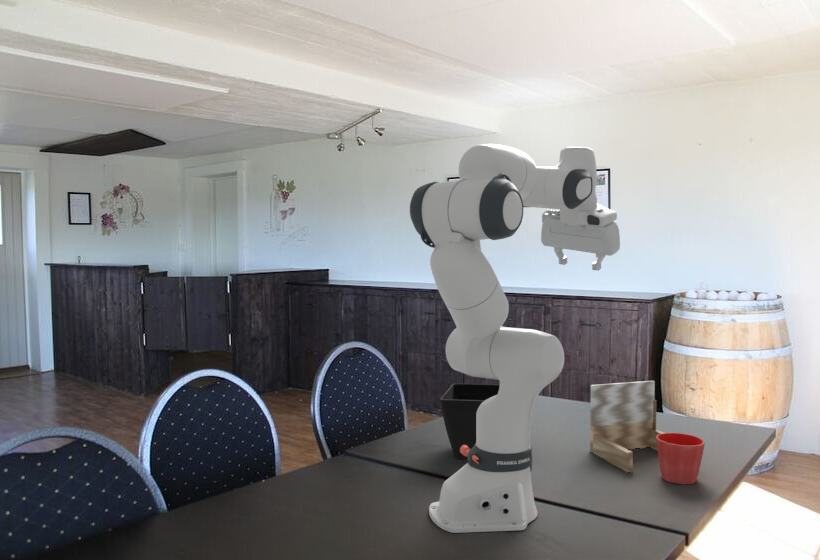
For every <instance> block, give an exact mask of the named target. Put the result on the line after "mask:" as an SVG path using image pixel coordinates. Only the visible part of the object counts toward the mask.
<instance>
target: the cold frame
mask: <svg viewBox="0 0 820 560" xmlns="http://www.w3.org/2000/svg"><path fill="white" fill-rule="evenodd" d="M655 384H656V381H655V380H644V381H629V382H628V381H627V382H615V383H602V384H590V422H589V423H590V426H589V427H590V429H589V431H590V433H589V439H590V441H589V447H590V448H589V452H590V451H592V452H593V453H592V452H591V453H592V454H594V453H595V454H596V455H595V454H594V455H595V456H597V455H598V456H597V457H599V456H600V457H599V458H601V457H602V458H604V459H605V460H604V459H603V460H604V461H606V460H607V461H606V462H608V463H609V462H610V463H609V464H611V463H612V464H611V465H613V466H614V465H615V467H616V466H617V467H616V468H618V467H619V468H618V469H620V468H621V469H622V471H623V470H624V471H623V472H625V471H626V472H625V473H627V472H631V473H634V471H633V468H634V466H633V464H634V463H633V462H634V461H633V460H634V452H633V451H632V450H636V449H635V448H640V449H647V448H646V447H650V449H653V450H655V451H657V452H658V449H657V442H656V436H657V435H659V434H663V433H665V432H663V431H662V430H659V429H657V402H658V401H657V400H656V399H655V390H656V389H655V388H656V387H655V386H656V385H655ZM628 449H630V450H628ZM602 458H601V459H602ZM621 469H620V470H621Z"/></svg>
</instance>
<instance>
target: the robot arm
mask: <svg viewBox="0 0 820 560" xmlns="http://www.w3.org/2000/svg"><path fill="white" fill-rule="evenodd" d="M596 161H597V160H596V155H595V152H594V150H593V149H592V148H590V147H588V146H565V147H563V148H561V150H560V153H559V162H558V164H557V165H556V166H541V165H540V166H537V165H536V163H535V161H534V160H533V159H532V158H531V157H530V155H529V154H527V153H526V152H524V151H523V150H520V149H517V148H514V147H512V146H508V145H503V144H497V143H496V144H495V143H483V144H482V143H480V144H476V145H473V146H471V147H470V148H469V149H467V150H466V151H465V152H464V154H463V155H462V157H461V159H460V161H459V165H458V176H459V179H455V180H447V181H441V182H440V181H432V182H429V183H426V184H423V185H421V186H419V187H418V188H416V190H414V192H413V194H412V197H411V199H410V202H409V216H410V220H411V222H412V224H413V227H414V229H415V231H416V233H418V234H419V236H420V239H421V241H422V243H424V244H425V245H426V246H428V247H429V248H432V249H433V248H434V249H433V250H432V252H431V255H430V260H429V264H430V265H429V266H430V270H431V273H432V277H433V279H434V283H435V285H436V288H437V290H438V293H439V295H440V297H441V299H442V301H443V302H444V304H445V306H446V308H447V310H448V312H449V313H450V316H451V318H452V320H453V322H454V324H455V327H456V328H454V329H453V330H452V331H451V333H450V334H449V336H448V338H447V341H446V343H445V357H446V361H447V362H448V364H449V366H450V368H451V369H453V370H454V371H457V372H459V373H461V374H463V375H464V374H465V375H467V376H470V377H475V378H479V379H480V378H482V379H489V380H497V381H499V385H500V387H499V392H498V394H497V395H495V396H493V397H490V398H488V399H487V400H485V401H484V402H482V403H481V405H480V406H479V408H478V410H477V413H476V444H475V445H474V447H473V448H472V449H470V448H469V447H468V446H467V445H462V446H461V448H460V452H461V454H463V455H464V456H466V457H467V456H468V460H467V463H466V464H464V465H463V466H462V467H461V468H460V469H457V471H456V472H455V473H453V474H452V475H451V476H450V477H448V478H447V479H446V480H445V481H443V484H442V486H441V489H440V494H439V499H438V500H439V501H435V502H431V503H430V505H429V507H428V515H429V517H430V519H431V520H432V522H433V523H434V524H435V525H436V526H437V527H438V528H441V529H442V530H443V531H446V532H449V533H452V534H453V533H455V534H458V533H460V534H461V533H462V534H463V533H482V532H483V533H485V532H486V533H487V532H488V533H489V532H507V531H508V532H510V531H513V532H515V531H524V530H526V529H527V527H528V524H529V523H531V522H533V521H534V520H536V519H537V517H538V509H537V506H536V502H535V498H534V492H533V486H532V475H531V473H532V470H533V451H532V450H533V449H532V447H533V446H532V445H531V439H530V438H531V423H532V422H531V420H532V411H533V408H534V404H535V403H536V402H535V401H536V400H537V398H538V397H539V394H540V393H541V392H542V391H543V389H544V388H545V387H546V386H548V385H549V384H551V383H552V382H554V381H555V380H556V379H557V378H558V377H559V376H560V374H561V372H562V371H563V368H564V365H565V352H564V351H565V350H564V347H563V345H562V343H561V341H560V339H559V338H558V337H557V336H556V335H554V334H551V333H547V332H545V331H541V330H537V329H534V328H523V327H521V328H520V327H508V326H504V324H505V322H506V320H507V319H508V316H509V311H510V310H509V309H510V307H509V306H510V305H509V304H510V303H509V301H508V298H507V296H506V294H505V292H504V290H503V288H502V285H501V284H500V281H499V279H498V277H497V275H496V273H495V271H494V269H493V267H492V266H491V263H490V262H489V260H488V259H487V257H486V256H485V255H484V253H483V252H482V248H481V247H482V246H481V241H483V240H492V241H497V240H498V241H499V240H505V239H507V238H510V237H512V236H513V235H515V234H516V232H517V231H518V229H519V228H520V226H521V225H522V221H523V219H524V208H539V209H547V210H545V211H544V212H543V213H542V215H541V222H542V224H541V232H540V234H541V236H540V241H541V244H542V245H543V246H544V247H551V248H553V251H554V253H555V254H556V256H557V258H558V264H559V265H564V266H565V265H567V264H568V256H566V255H565V254H564V252H563V250H569V251H576V252H583V253H591V254H595V257H596V258H597V260H596V261H594V262H592V264H591V266H592V267H591V270H592V271H600V270H601V269H602V262H603V260H604V259H605V258H606V256H610V257H611V256H613V255H615V254H617V253H618V251H619V250H620V249H621V240H620V238H621V237H620V229H619V225H618V224H617V223H616V222H615V221H617V218H618V215H617V212H616V211H615V210H612V209H610V208H608V207H605V206H603V205H602V204H599V203H598V197H597V194H596V186H597V182H598V180H597V179H598V175H597V174H598V173H597V164H596V163H597V162H596Z"/></svg>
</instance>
